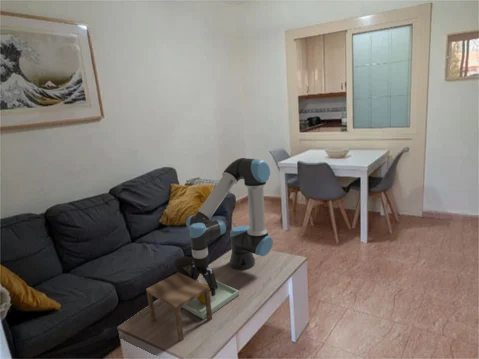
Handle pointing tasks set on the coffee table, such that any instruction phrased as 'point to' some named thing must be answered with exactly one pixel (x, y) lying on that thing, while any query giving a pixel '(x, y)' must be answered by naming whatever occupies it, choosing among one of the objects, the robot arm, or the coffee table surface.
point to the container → (183, 265)
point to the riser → (178, 296)
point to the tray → (221, 298)
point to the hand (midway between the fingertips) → (204, 296)
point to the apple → (202, 297)
